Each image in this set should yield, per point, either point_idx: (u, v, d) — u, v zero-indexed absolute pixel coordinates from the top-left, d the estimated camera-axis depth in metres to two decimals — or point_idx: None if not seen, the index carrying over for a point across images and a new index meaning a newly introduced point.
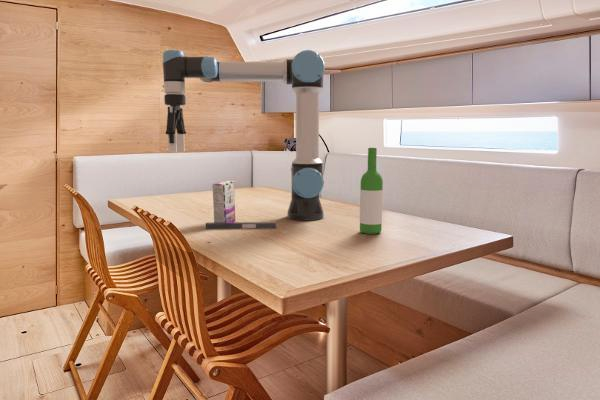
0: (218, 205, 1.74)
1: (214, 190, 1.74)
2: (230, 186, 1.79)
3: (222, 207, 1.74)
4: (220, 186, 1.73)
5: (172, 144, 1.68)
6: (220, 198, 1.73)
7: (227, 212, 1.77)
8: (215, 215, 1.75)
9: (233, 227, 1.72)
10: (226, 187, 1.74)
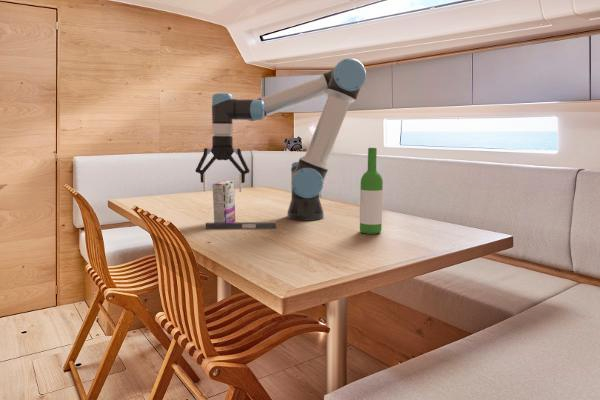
0: (218, 205, 1.74)
1: (214, 190, 1.74)
2: (230, 186, 1.79)
3: (222, 207, 1.74)
4: (220, 186, 1.73)
5: None
6: (220, 198, 1.73)
7: (227, 212, 1.77)
8: (215, 215, 1.75)
9: (233, 227, 1.72)
10: (225, 187, 1.74)
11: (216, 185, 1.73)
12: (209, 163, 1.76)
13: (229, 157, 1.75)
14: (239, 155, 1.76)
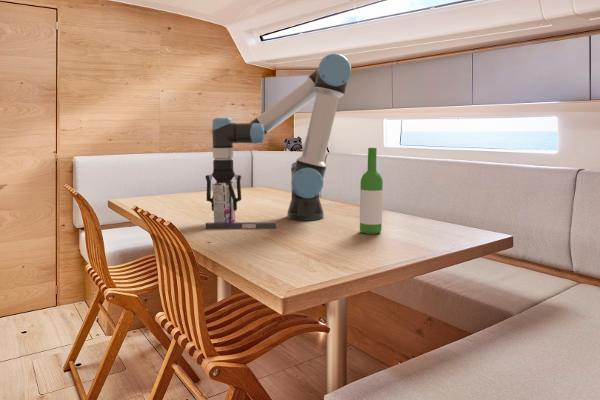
0: (218, 205, 1.74)
1: (214, 190, 1.74)
2: None
3: (222, 207, 1.74)
4: (220, 185, 1.73)
5: None
6: (220, 198, 1.73)
7: (227, 212, 1.77)
8: (215, 215, 1.75)
9: (233, 227, 1.72)
10: (225, 187, 1.74)
11: (216, 185, 1.73)
12: None
13: (228, 182, 1.77)
14: (237, 181, 1.77)
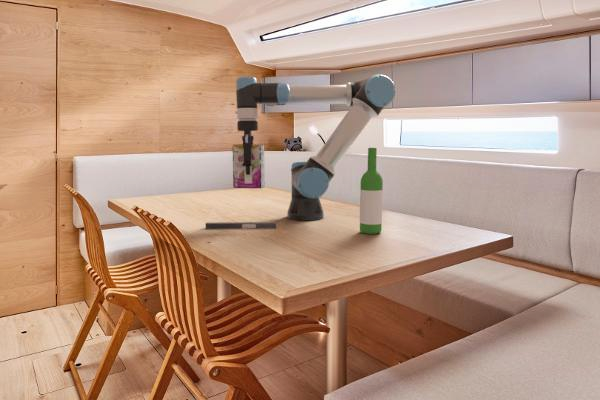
0: (262, 166, 1.74)
1: (261, 151, 1.72)
2: None
3: (263, 167, 1.75)
4: (263, 146, 1.74)
5: (248, 175, 1.72)
6: (263, 158, 1.74)
7: None
8: (261, 176, 1.73)
9: (233, 227, 1.72)
10: None
11: (261, 145, 1.72)
12: None
13: None
14: None
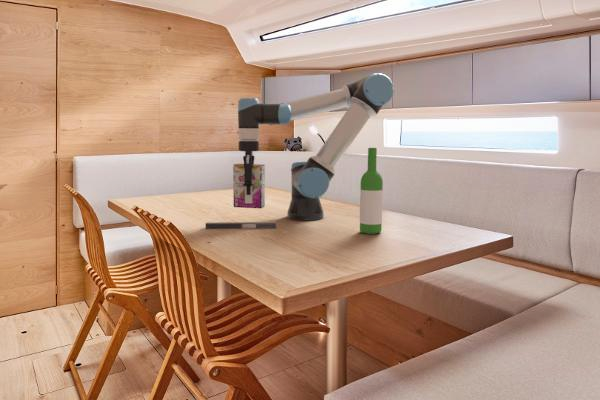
0: (263, 186, 1.75)
1: (262, 171, 1.73)
2: None
3: (264, 187, 1.76)
4: (263, 166, 1.75)
5: (248, 195, 1.73)
6: (263, 178, 1.75)
7: None
8: (261, 196, 1.74)
9: (233, 227, 1.72)
10: None
11: (262, 166, 1.73)
12: (251, 172, 1.72)
13: (253, 163, 1.77)
14: None
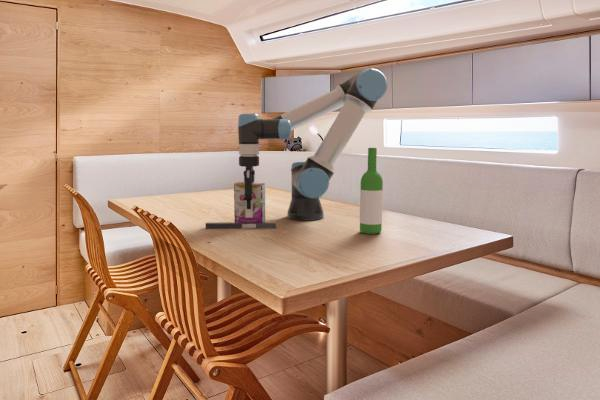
0: (263, 204, 1.76)
1: (262, 190, 1.74)
2: None
3: (264, 205, 1.77)
4: (264, 185, 1.76)
5: (249, 209, 1.72)
6: (264, 197, 1.76)
7: None
8: (262, 215, 1.75)
9: (233, 227, 1.72)
10: None
11: (263, 185, 1.74)
12: None
13: None
14: None
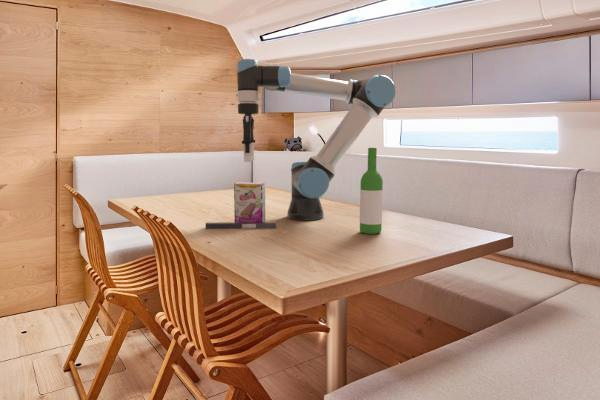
0: (263, 204, 1.76)
1: (262, 190, 1.74)
2: None
3: (264, 205, 1.77)
4: (264, 185, 1.76)
5: (247, 153, 1.67)
6: (264, 197, 1.76)
7: None
8: (262, 215, 1.75)
9: (233, 227, 1.72)
10: None
11: (263, 185, 1.74)
12: None
13: (253, 125, 1.75)
14: None
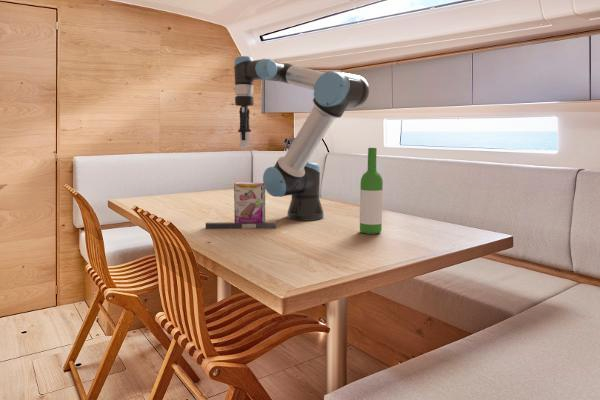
0: (263, 204, 1.76)
1: (262, 190, 1.74)
2: None
3: (264, 205, 1.77)
4: (264, 185, 1.76)
5: (243, 141, 1.87)
6: (264, 197, 1.76)
7: None
8: (262, 215, 1.75)
9: (233, 227, 1.72)
10: None
11: (263, 185, 1.74)
12: (246, 121, 1.88)
13: None
14: None
